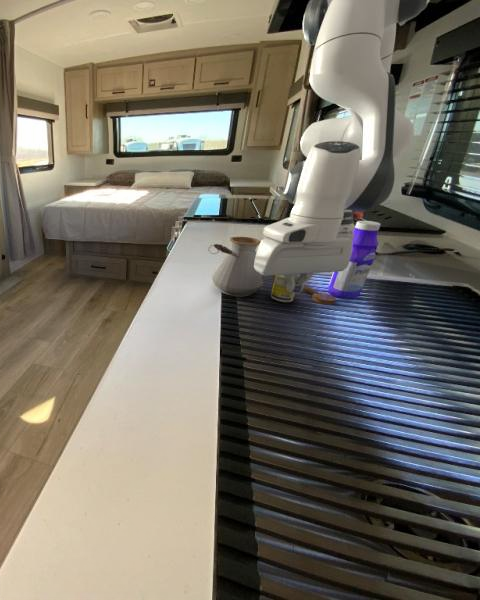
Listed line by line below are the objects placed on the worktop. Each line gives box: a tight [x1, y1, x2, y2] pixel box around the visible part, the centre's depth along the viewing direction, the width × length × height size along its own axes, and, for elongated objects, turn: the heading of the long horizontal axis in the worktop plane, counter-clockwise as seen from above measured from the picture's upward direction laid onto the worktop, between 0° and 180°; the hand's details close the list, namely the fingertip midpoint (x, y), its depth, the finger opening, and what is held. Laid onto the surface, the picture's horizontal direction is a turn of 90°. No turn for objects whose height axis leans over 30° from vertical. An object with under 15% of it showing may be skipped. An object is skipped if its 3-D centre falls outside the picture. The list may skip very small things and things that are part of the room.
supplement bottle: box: [270, 274, 300, 303], centre depth 76 cm, size 5×5×8 cm
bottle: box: [327, 220, 382, 300], centre depth 76 cm, size 7×6×17 cm
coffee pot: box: [208, 236, 264, 298], centre depth 76 cm, size 21×12×15 cm, turn 132°
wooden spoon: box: [302, 284, 337, 306], centre depth 82 cm, size 17×4×1 cm, turn 8°
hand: (293, 290), depth 74 cm, fingers closed
